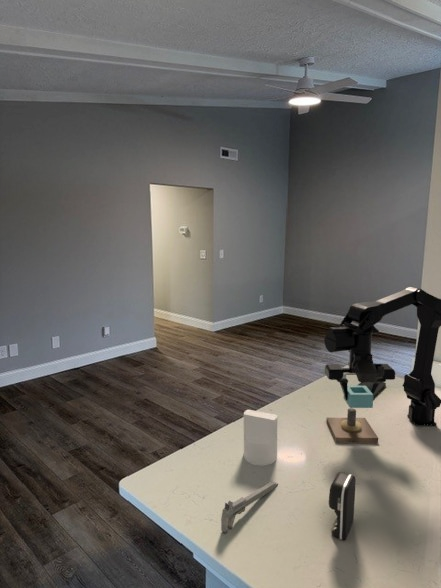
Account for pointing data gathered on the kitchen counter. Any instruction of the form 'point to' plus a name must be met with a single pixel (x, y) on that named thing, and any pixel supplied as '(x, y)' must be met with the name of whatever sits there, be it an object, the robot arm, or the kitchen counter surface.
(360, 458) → the kitchen counter surface
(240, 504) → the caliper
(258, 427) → the white upright block
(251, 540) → the kitchen counter surface
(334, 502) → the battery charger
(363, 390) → the collar
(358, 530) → the kitchen counter surface
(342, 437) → the stand
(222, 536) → the kitchen counter surface
